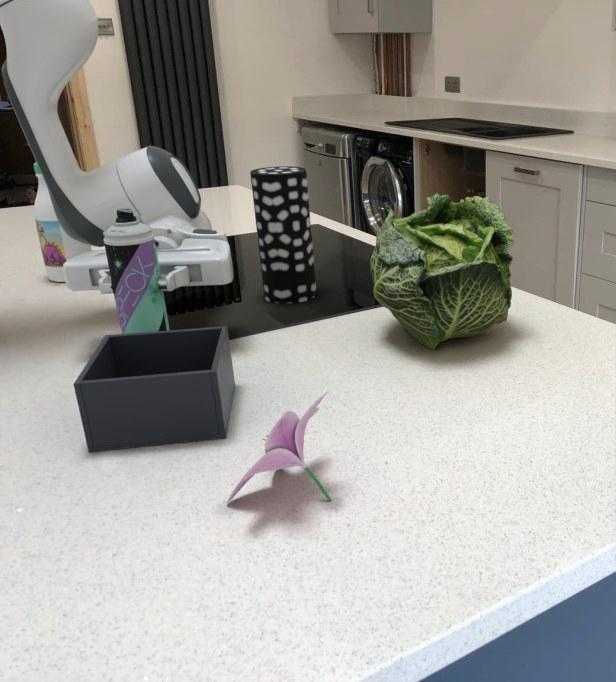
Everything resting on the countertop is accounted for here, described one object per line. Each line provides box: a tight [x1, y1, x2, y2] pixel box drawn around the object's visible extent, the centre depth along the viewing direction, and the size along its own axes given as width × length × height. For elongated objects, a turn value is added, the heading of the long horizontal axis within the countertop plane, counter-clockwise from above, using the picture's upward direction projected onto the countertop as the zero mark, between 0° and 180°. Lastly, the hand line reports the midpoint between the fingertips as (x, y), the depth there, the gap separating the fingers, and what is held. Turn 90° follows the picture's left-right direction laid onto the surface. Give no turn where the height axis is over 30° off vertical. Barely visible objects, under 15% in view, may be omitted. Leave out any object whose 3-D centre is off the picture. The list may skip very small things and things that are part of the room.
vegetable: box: [370, 192, 516, 350], centre depth 100 cm, size 20×19×20 cm
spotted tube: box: [249, 165, 318, 305], centre depth 115 cm, size 8×8×20 cm
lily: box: [226, 390, 332, 505], centre depth 64 cm, size 12×12×10 cm
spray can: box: [103, 209, 171, 334], centre depth 88 cm, size 6×6×20 cm
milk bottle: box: [33, 161, 93, 283], centre depth 126 cm, size 8×8×20 cm
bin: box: [73, 325, 236, 453], centre depth 79 cm, size 13×13×8 cm
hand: (135, 286), depth 87 cm, fingers closed on spray can, 5 cm apart
